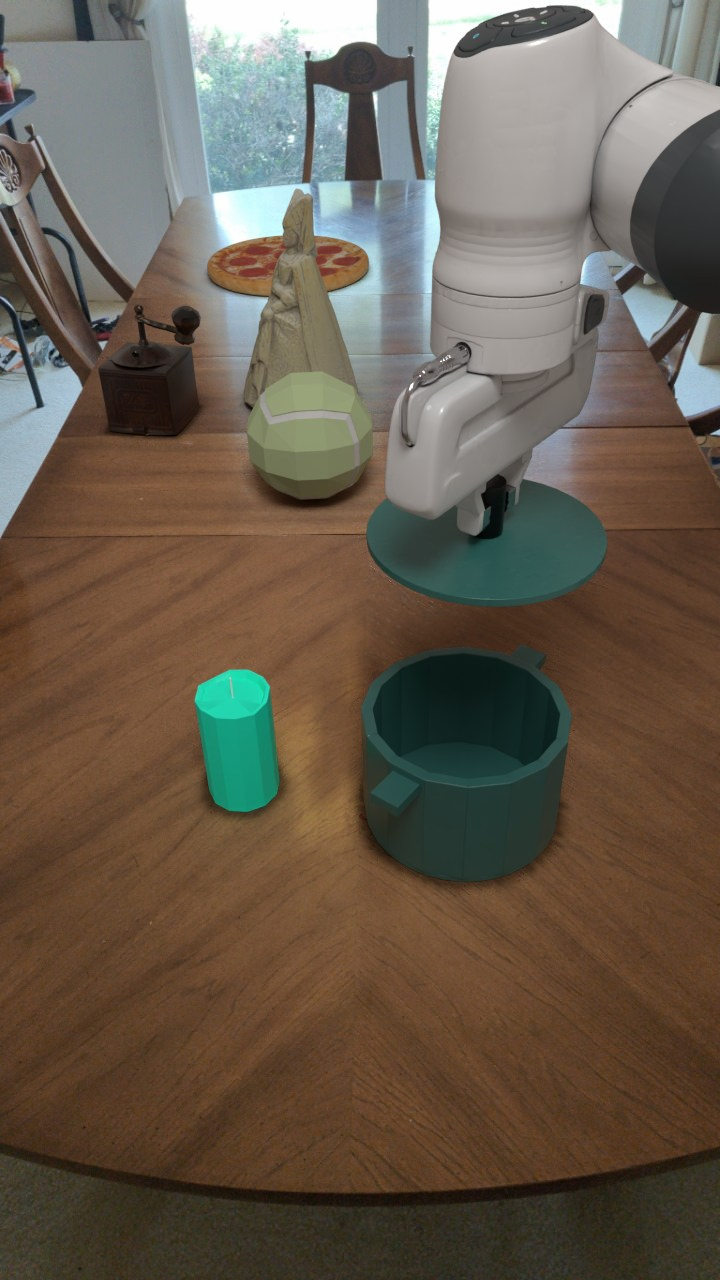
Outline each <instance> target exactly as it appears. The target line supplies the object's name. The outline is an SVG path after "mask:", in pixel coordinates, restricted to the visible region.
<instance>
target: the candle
mask: <svg viewBox="0 0 720 1280" xmlns="http://www.w3.org/2000/svg"><path fill="white" fill-rule="evenodd" d="M194 705H195V706H194V707H195V712H196V718H197V719H196V720H197V723H198V730H199V736H200V742H201V747H202V754H203V761H204V766H205V772H206V778H207V784H208V790H209V793H210V795H211V797H212V800H213V802H214V803H215V804H216V805H218V806H219V807H220V808H223V809H225V810H227V811H229V812H243V813H249V812H252V811H255V810H258V809H261V808H264V807H266V806H267V805H268V804H269V803H271V801H272V800H273V799H274V798H275V797H276V796H277V795H278V791H279V787H280V781H281V779H280V771H279V760H278V749H277V742H276V732H275V731H276V730H275V721H274V713H273V712H274V711H273V702H272V693H271V686H270V685H269V682H268V681H267V679H266V678H265V677H264V676H263V675H260V674H258V673H256V672H254V671H252V670H250V669H228V670H226V671H224V672H222V673H220V674H217V675H216V676H214V677H211V678H209V679H208V680H206V681H204V682H202V683H200V684H198V686H197V689H196V693H195V698H194Z"/></svg>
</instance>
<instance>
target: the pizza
mask: <svg viewBox="0 0 720 1280" xmlns="http://www.w3.org/2000/svg"><path fill="white" fill-rule="evenodd" d="M314 238H315V243H316V246H317V252H318V256H317V258H316V263H317V265H318V268H319V271H320V273H321V276H322V279H323V281H324V284H325V287H326V290H327V292H330V291H335V290H337V289H341V288H344V287H346V286H349V285H351V284H353V283H356V282H357V281H359V280H360V279H362V278H363V277H364V276H365V274H367V272H368V270H369V268H370V267H369V266H370V258H369V256H368V254H367V252H366V251H365V249H363V248H362V247H361V246H359V245H358V244H355V243H353V242H351V241H347V240H344V239H340V238H336V237H330V236H323V235H314ZM285 249H287V247H286V246H284V241H283V234H282V235H273V236H263V237H257V238H252V239H246V240H241V241H239V242H236V243H232V244H230V245H226V246H225V247H223V248H221V249H219V250H217V251H215V253H213V254H212V255H211V256H210V257H209V258H208V261H207V264H206V270H207V274H208V276H209V278H210V280H212V282H213V283H215V284H216V285H218V286H219V287H221V288H223V289H226V290H229V291H232V292H235V293H240V294H246V295H251V296H252V295H253V296H263V297H269V294H270V290H271V284H272V278H273V273H274V269H275V266H276V263H277V260H278V259H279V257H280V255H281V254H282V252H283V251H284V250H285Z"/></svg>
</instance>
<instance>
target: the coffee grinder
mask: <svg viewBox="0 0 720 1280" xmlns="http://www.w3.org/2000/svg"><path fill="white" fill-rule="evenodd" d="M133 310H134V317H133V319H134V321H135V322H137V328H138V336H139V339H138V341H137V342H126V343H124V344H123V345H122V346H121V347H119V348H118V349H117V350H116V351H115V352H114V353H113V354H111V356H110V357H108V358H107V359H106V360H105V361H104V362H103V363H101V364H100V366H99V367H98V368H97V371H98V376H99V381H100V387H101V391H102V396H103V397H102V398H103V402H104V407H105V411H106V417H107V422H108V428H109V430H108V431H109V432H111V433H120V434H121V433H122V434H130V435H140V436H176V435H178V434H179V433H180V432H182V430H184V429H185V428H186V427H187V426H188V424H189V423H190V422H191V421H192V420H193V418H194V417H195V416H196V414H197V412H198V410H199V407H200V402H199V396H198V390H197V389H198V388H197V381H196V372H195V364H194V363H195V361H194V353H193V348H192V346H190V345H192V344H194V343H195V341H196V338H195V335H194V333H195V332H196V330H197V329H198V328H199V327H200V325H201V319H202V317H201V314H200V312H199V311H198V310H197V309H195V308H193V307H192V306H189V305H181V306H178V307H176V308H174V310H173V311H172V313H171V322H172V324H173V325H171V324H169V323H164V322H160V321H156V320H154V319H151V318H147V317H146V316H145V313H144V310H145V308H144V306H143V305H142V304H140V303H137V304H135V305H134V307H133ZM145 325H146V326H148V327H151V328H154V329H158V330H162V331H166V332H169V333H172V334H174V336H173V337H174V341H175V342H177V343H178V344H180V345H174V344H173V345H171V344H162V343H161V342H156V341H151V340H148V338H147V336H146V335H147V333H146V327H145Z"/></svg>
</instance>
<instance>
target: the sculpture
mask: <svg viewBox="0 0 720 1280" xmlns="http://www.w3.org/2000/svg"><path fill="white" fill-rule="evenodd" d="M314 225H315V223H314V197H313V195H312V194H310V193H309V192H306V193H305V192H304V190H302V189H300V188H295V189H294V190H293V193H292V195H291V198H290V200H289V203H288V205H287V208H286V210H285V213H284V215H283V218H282V221H281V226H282V230H283V232H282V235H283V241H284V246H286V247H287V249H285V250H284V251H283V252H282V254H281V255H280V257H279V259H278V260H277V263H276V266H275V269H274V273H273V278H272V284H271V290H270V294H269V296H268V298H267V302H266V303H265V305H264V307H263V309H262V310H261V312H260V319H259V321H258V328H257V329H258V330H257V331H258V332H257V335H256V338H255V339H256V340H255V342H254V346H253V349H252V354H251V358H250V363H249V368H248V370H247V374H246V377H245V381H244V387H243V399H244V402H245V403H246V405H248V406H250V407H251V408H252V409H253V408H254V406H255V404H256V401H257V399H258V397H259V395H261V394H263V392H264V391H265V389H266V388H268V387H269V386H271V385H272V384H274V383H276V382H277V381H279V380H280V379H282V378H284V377H285V376H287V375H288V374H290V373H299V372H320V371H322V372H324V373H326V374H328V375H330V376H332V377H334V378H336V379H338V380H340V381H342V382H344V383H347V384H349V385H351V386H353V387H354V389H355V390H356V392H357V393H358V391H359V387H358V383H357V381H356V376H355V372H354V370H353V366H352V363H351V360H350V356H349V352H348V348H347V346H346V343H345V339H344V337H343V334H342V331H341V328H340V324H339V320H338V318H337V315H336V312H335V310H334V307H333V304H332V301H331V299H330V296H329V291H327V290H326V287H325V284H324V281H323V279H322V276H321V273H320V271H319V268H318V265H317V263H316V258H317V256H318V252H317V246H316V243H315V238H314V236H315V229H314Z"/></svg>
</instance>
